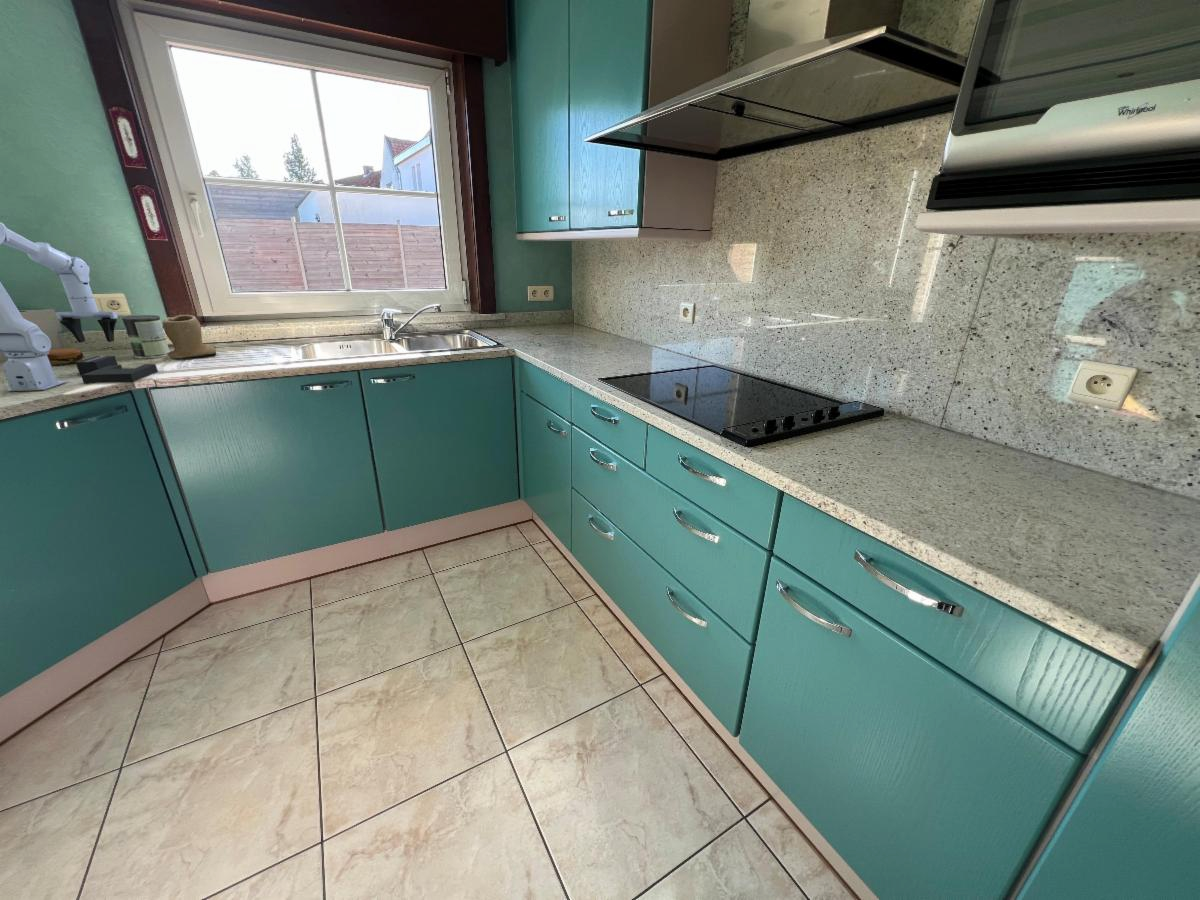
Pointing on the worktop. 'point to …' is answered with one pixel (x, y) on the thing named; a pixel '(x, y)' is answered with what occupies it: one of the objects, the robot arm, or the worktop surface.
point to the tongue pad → (95, 363)
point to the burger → (64, 356)
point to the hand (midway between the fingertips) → (96, 341)
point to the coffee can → (146, 336)
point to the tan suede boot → (186, 337)
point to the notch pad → (119, 374)
